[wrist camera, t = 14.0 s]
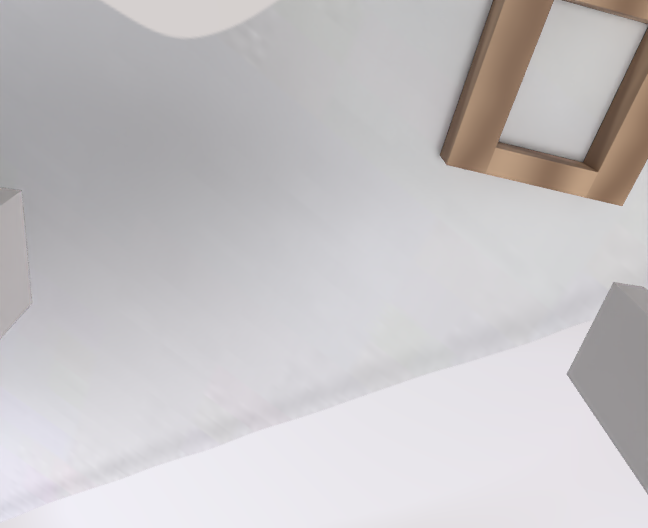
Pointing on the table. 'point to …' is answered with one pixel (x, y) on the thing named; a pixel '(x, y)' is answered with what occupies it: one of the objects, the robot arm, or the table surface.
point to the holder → (500, 92)
